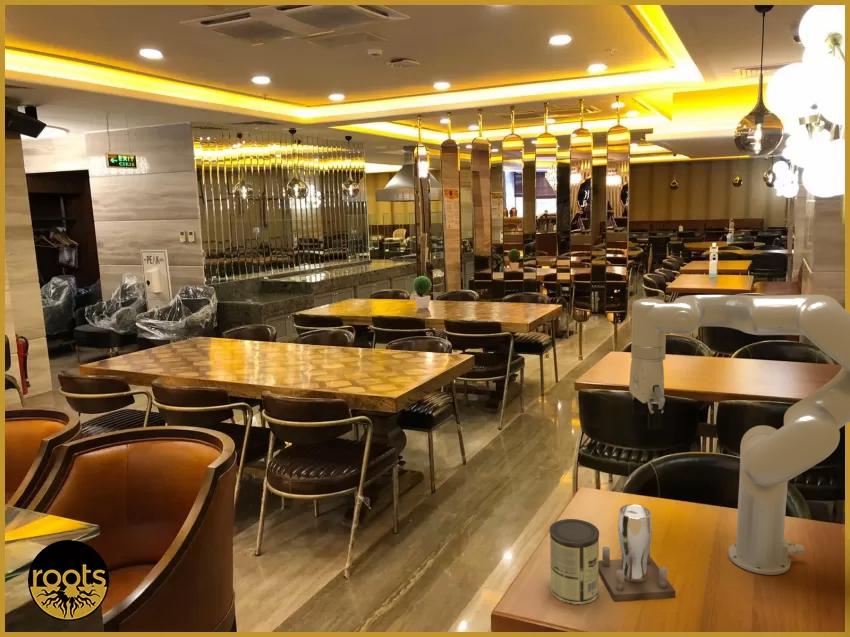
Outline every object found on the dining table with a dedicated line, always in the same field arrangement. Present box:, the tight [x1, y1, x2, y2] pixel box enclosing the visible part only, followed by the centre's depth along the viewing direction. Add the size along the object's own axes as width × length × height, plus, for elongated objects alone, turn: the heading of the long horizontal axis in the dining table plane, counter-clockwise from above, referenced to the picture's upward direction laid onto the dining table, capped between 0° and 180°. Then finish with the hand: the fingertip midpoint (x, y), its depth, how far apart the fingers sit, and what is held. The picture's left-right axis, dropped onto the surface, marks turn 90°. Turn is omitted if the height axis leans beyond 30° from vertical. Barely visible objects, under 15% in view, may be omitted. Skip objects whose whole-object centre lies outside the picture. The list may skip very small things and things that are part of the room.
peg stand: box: [598, 546, 676, 602], centre depth 140 cm, size 13×13×6 cm
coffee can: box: [549, 518, 600, 605], centre depth 137 cm, size 10×10×14 cm
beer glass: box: [617, 504, 653, 583], centre depth 139 cm, size 7×7×15 cm
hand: (646, 421), depth 152 cm, fingers open, 9 cm apart
